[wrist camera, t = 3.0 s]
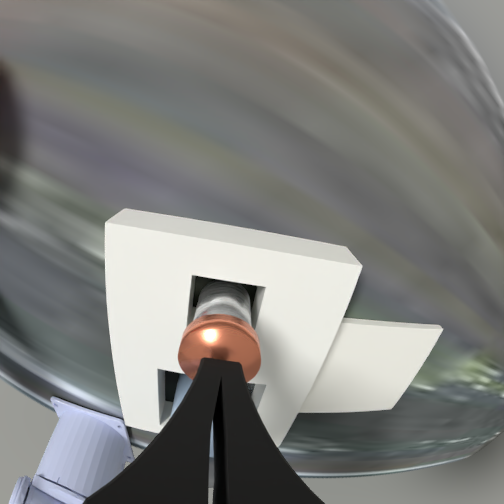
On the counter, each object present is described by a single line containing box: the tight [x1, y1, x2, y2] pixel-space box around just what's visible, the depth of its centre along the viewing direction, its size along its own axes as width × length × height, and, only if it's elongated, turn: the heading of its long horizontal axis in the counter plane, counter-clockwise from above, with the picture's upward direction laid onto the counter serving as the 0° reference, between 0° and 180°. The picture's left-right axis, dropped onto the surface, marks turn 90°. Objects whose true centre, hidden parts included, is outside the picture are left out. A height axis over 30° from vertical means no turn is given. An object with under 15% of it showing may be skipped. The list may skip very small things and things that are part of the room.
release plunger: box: [178, 280, 261, 383], centre depth 13 cm, size 3×3×4 cm
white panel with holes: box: [105, 208, 363, 447], centre depth 17 cm, size 16×12×2 cm
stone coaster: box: [298, 317, 443, 413], centre depth 19 cm, size 9×9×1 cm
